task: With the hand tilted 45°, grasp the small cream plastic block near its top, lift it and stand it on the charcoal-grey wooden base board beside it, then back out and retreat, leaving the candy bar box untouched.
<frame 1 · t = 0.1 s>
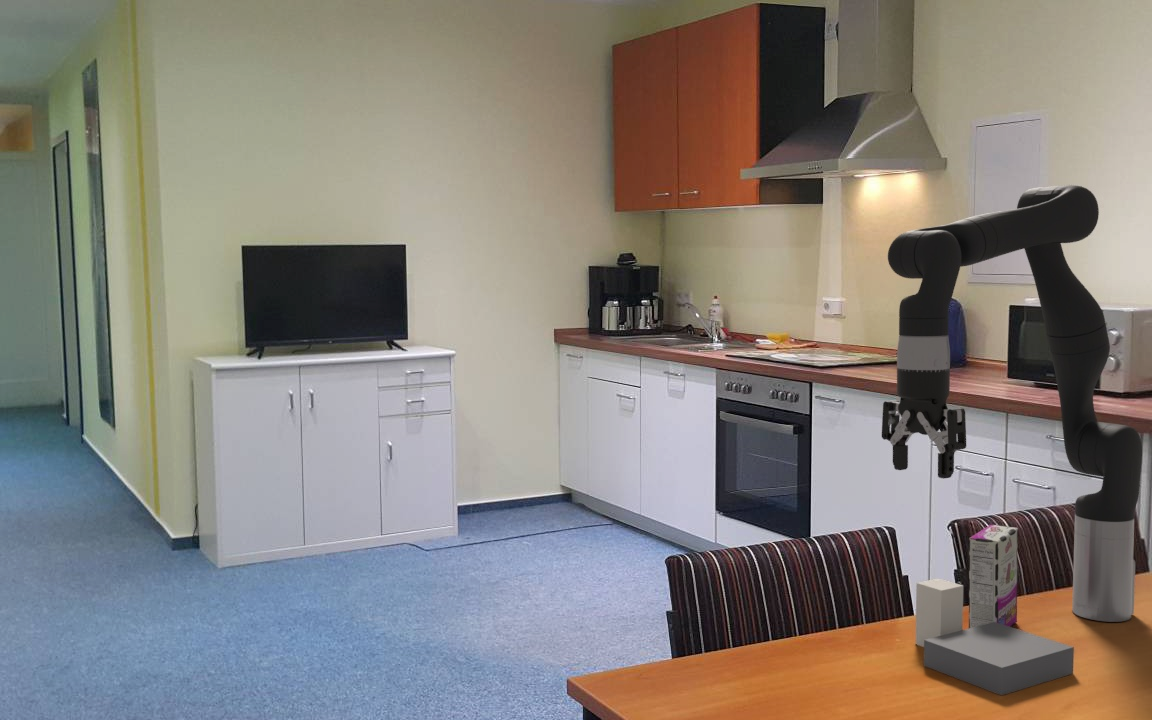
hand: (922, 473, 168), 29 cm above the table, tool pointing down, fingers open, 8 cm apart
candy bar box: (992, 630, 187), on the table
base board: (997, 669, 168), on the table
cream block: (938, 645, 179), on the table
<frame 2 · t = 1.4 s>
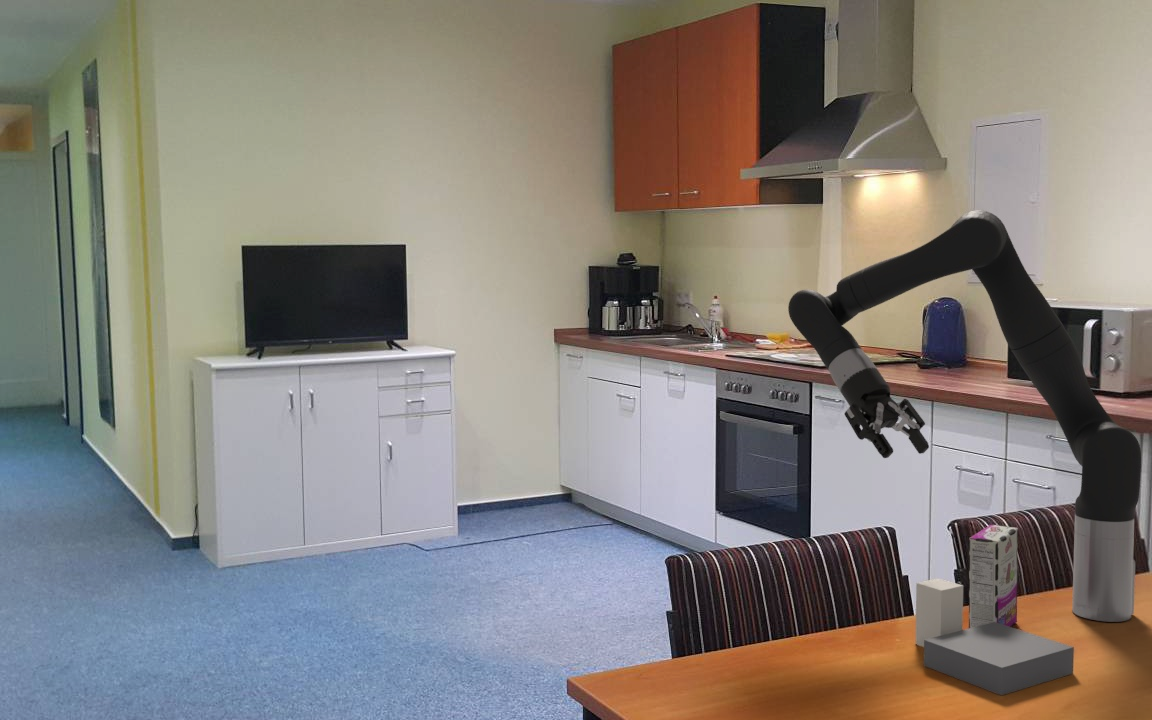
hand: (907, 452, 190), 29 cm above the table, tool tilted 45°, fingers open, 8 cm apart
nothing on the table moved.
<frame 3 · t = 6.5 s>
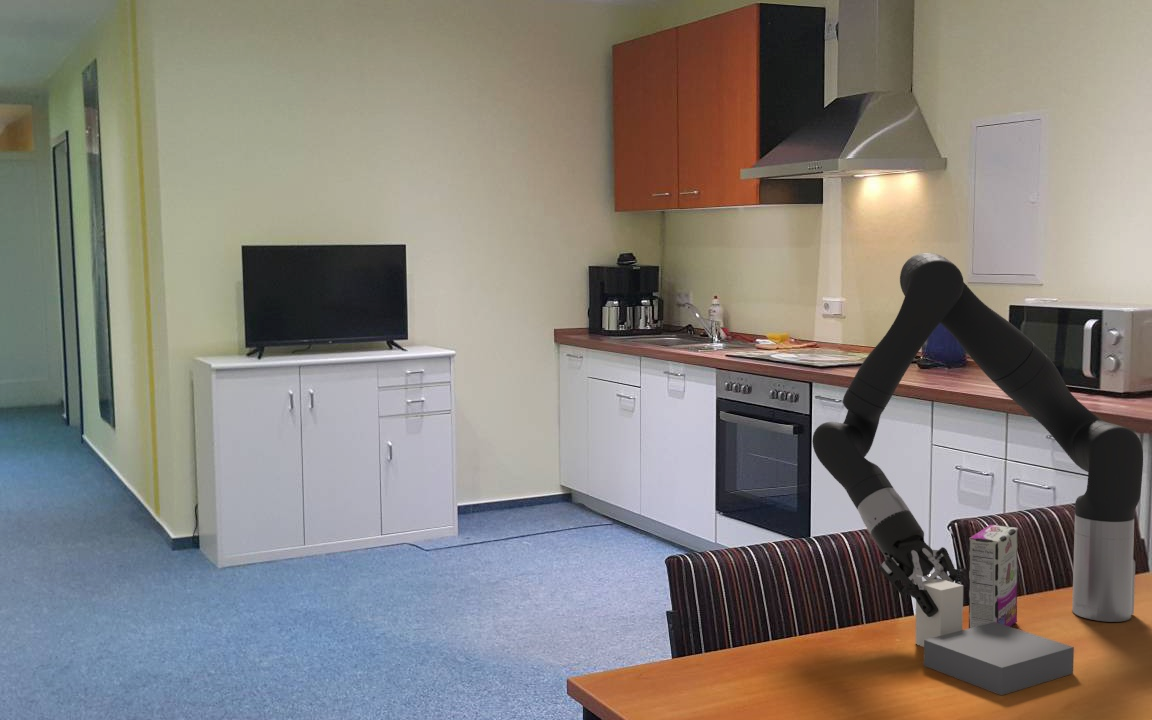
hand: (946, 611, 177), 6 cm above the table, tool tilted 45°, fingers closed on cream block, 5 cm apart
cream block: (938, 645, 179), on the table, touching gripper
everything else where it was.
when the fingers open (11 cm above the table, at t = 14.0 s): cream block drops 1 cm, resting on base board.
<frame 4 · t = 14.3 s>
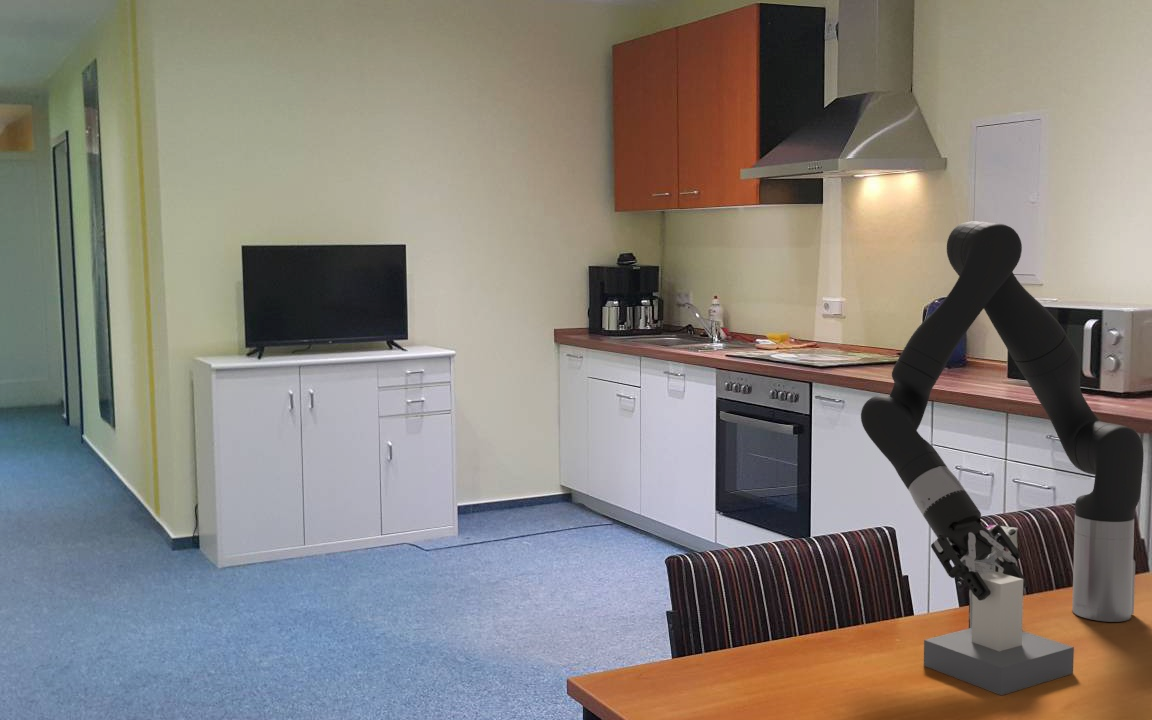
hand: (1004, 593, 166), 12 cm above the table, tool tilted 45°, fingers open, 8 cm apart
cream block: (996, 643, 167), point 4 cm above the table, touching base board
everything else where it was.
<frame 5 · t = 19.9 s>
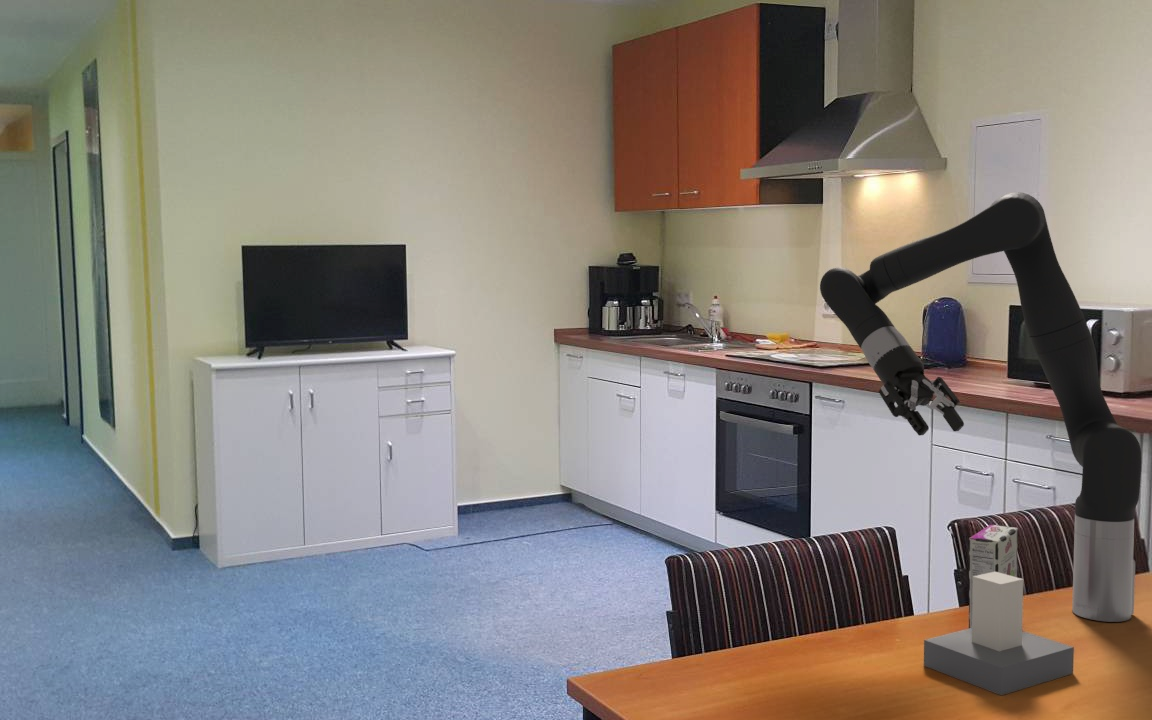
hand: (942, 430, 188), 33 cm above the table, tool tilted 45°, fingers open, 8 cm apart
nothing on the table moved.
at the end: cream block inside the target area on the base board (0.2 cm from its centre), point 4.0 cm above the base board's base; cream block tilted 0°; cream block touching base board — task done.
